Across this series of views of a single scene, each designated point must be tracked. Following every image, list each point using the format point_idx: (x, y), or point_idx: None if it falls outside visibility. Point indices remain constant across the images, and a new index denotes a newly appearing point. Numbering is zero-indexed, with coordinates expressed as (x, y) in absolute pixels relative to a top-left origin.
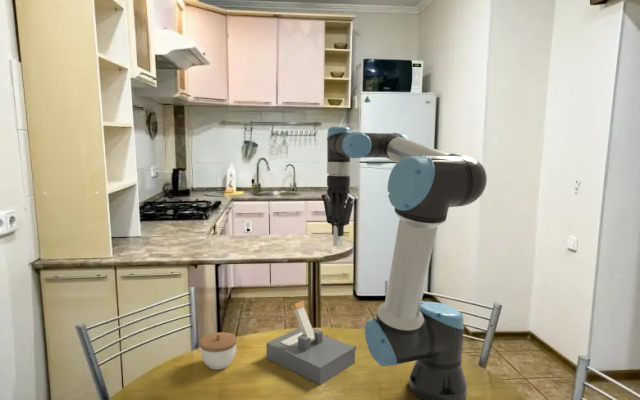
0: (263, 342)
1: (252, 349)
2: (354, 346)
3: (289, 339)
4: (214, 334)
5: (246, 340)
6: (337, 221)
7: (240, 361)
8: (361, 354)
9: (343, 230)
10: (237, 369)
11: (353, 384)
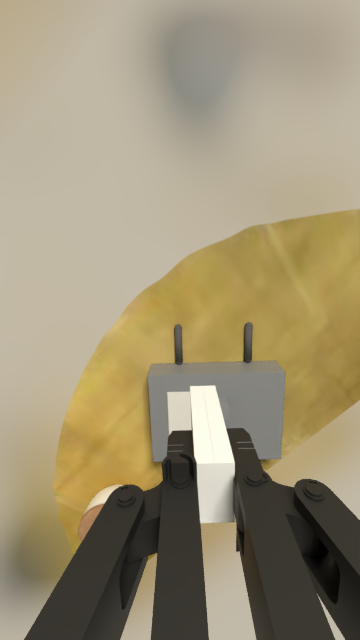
0: (106, 413)
1: (114, 440)
2: (250, 327)
3: (174, 430)
4: (86, 529)
5: (79, 428)
6: (245, 568)
7: (133, 473)
8: (268, 330)
9: (256, 454)
10: (150, 488)
11: (309, 409)
